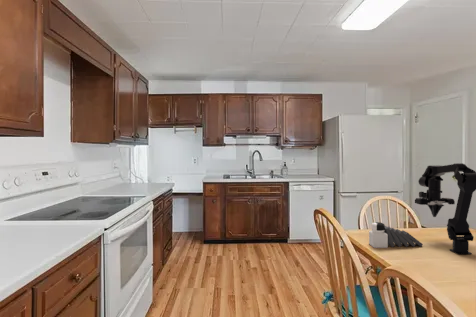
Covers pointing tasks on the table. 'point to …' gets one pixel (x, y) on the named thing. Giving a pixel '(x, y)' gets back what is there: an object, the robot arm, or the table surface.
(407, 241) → the domino
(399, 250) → the table surface
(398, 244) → the domino
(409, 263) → the table surface
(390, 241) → the domino
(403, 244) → the domino
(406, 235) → the domino
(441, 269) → the table surface
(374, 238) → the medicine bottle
